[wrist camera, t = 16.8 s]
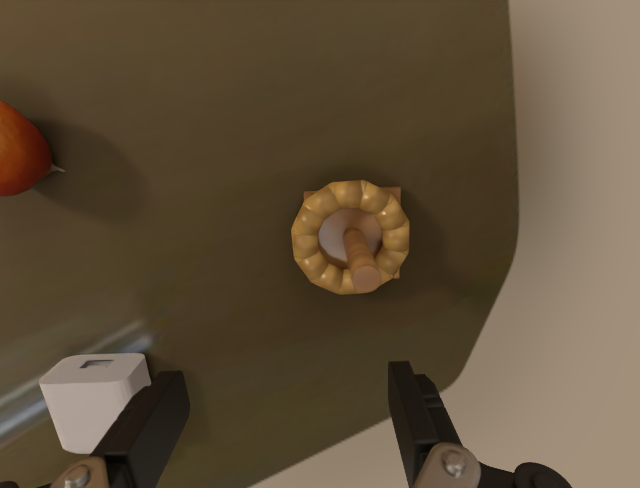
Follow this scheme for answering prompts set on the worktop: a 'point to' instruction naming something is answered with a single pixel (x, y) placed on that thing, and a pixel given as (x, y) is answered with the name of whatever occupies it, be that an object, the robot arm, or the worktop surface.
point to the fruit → (21, 153)
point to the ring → (342, 198)
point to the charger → (91, 395)
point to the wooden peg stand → (354, 242)
